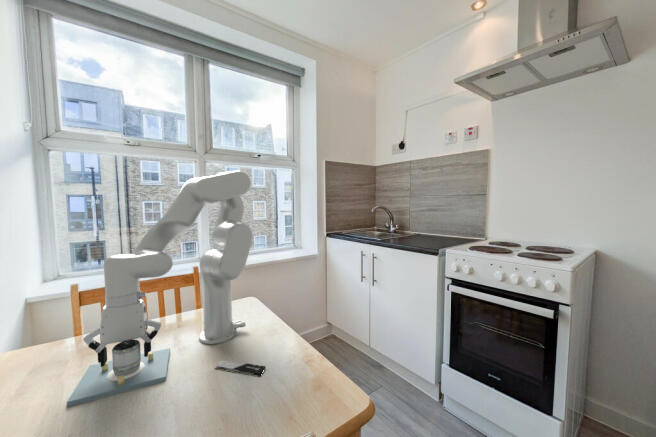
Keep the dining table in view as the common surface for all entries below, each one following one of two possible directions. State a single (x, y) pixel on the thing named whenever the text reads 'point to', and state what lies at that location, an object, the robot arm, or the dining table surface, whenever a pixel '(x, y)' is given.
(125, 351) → the camera lens
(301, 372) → the dining table surface
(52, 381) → the dining table surface
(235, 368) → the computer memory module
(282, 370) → the dining table surface
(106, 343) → the robot arm
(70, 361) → the dining table surface
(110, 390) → the pin board
